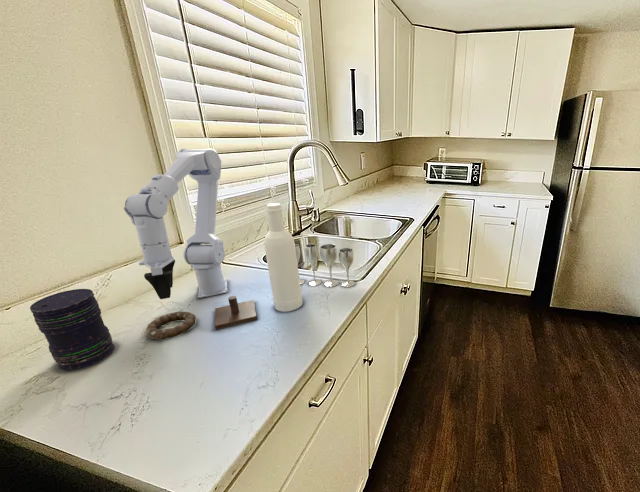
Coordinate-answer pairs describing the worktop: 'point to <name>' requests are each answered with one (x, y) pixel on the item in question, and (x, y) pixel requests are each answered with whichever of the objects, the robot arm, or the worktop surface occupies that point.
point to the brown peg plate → (234, 313)
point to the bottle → (282, 262)
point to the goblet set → (328, 261)
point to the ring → (157, 333)
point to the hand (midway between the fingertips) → (166, 292)
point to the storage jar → (73, 329)
